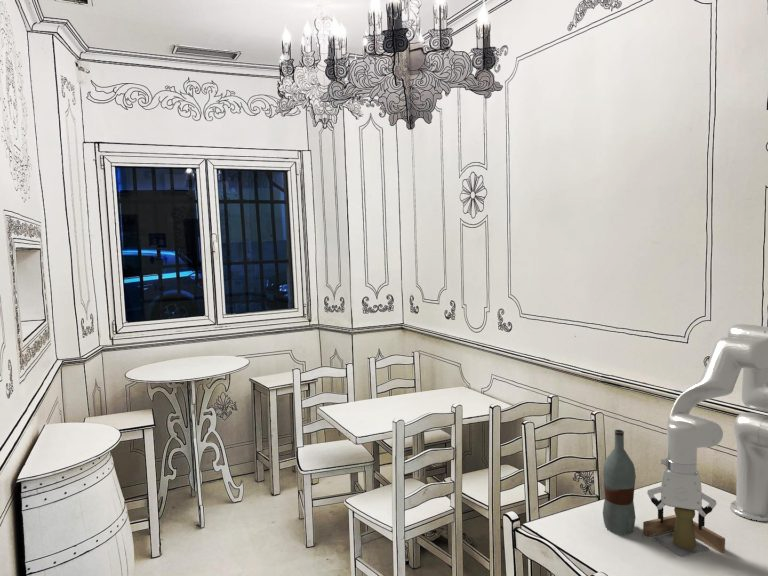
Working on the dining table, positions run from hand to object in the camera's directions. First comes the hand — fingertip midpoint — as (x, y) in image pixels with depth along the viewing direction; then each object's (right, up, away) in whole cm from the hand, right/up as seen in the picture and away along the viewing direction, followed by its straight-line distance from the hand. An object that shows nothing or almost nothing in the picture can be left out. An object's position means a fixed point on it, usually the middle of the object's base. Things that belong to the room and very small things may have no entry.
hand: (680, 524), depth 160 cm
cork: (+1, -6, 0) cm, 6 cm away
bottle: (-13, -6, +10) cm, 18 cm away
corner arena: (0, -6, 0) cm, 6 cm away
